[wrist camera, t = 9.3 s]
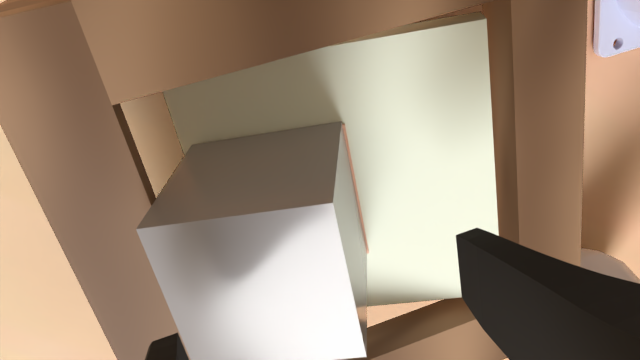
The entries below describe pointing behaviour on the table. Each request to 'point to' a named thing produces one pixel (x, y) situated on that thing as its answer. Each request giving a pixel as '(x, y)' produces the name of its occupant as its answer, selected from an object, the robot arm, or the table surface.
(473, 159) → the trapdoor
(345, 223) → the pale grey cube
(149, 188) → the trapdoor frame
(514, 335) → the robot arm
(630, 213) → the table surface
